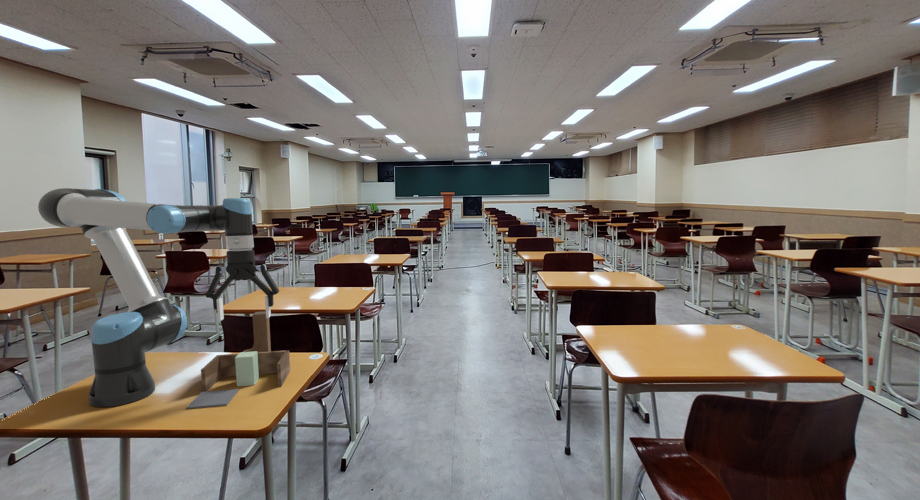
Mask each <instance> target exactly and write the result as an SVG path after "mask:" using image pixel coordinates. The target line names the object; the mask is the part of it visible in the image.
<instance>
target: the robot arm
mask: <svg viewBox="0 0 920 500" xmlns="http://www.w3.org/2000/svg"><path fill="white" fill-rule="evenodd" d="M39 199H40V200H39V202H38V206H37V207H38V209H37V210H38V212H39V215H40V216H41V218H42V219H43V220H44V221H45V222H47V223H49V224H51V226H52V225H53V226H55V227H59V228H80V229H81V231H82V233H83V235H84V237H85V238H88V239H89V240H90V239H92V240H93V241H94V243H95V245H96V247H97V249H98V251H99V253H100V254H101V256H102V258H103V261H104V263H105V265H106V266H107V268H108V270H109V271H110V272H109V273H110V274H111V275H112V278H113V279H114V282H115V284H116V285H117V287H118V289H119V291H120V293H121V294H122V296H123V299H124V300H125V302H126V304H127V306H128V310H127V311H126V312H120V313H117V314H116V313H115V314H110V315H107V316H105V317H102V318H99V319H98V320H97V321H95V322H93V324H92V326H91V328H90V331H91V332H90V333H91V335H90V342H91V349H92V357H93V367H94V369H93V370H94V378H93V381H92V383H91V384H92V385H91V387H90V390H89V394H88V404H89V406H91V407H94V408H95V407H96V408H107V407H108V408H110V407H117V406H122V405H125V404H126V405H127V404H130V403H134V402H137V401H139V400H143V399H144V398H146V397H148V396H150V395H151V394H153V393H154V392H155V390H156V382H155V379H154V377H153V376H152V374H151V372H150V370H149V369H148V367H147V364H146V363H147V362H146V353H147V352H150V351H152V350H155V349H157V348H160V347H162V346H167V345H169V344H172V343H173V342H175V341H177V340H179V339H180V338H181V337H182V336H183V335H184V334H185V332H186V328H187V327H188V317H187V314H186V312H185V311H184V309H182V308H181V307H180V306H179V307H178V305H174V304H172V303H171V302H170V300H169V299H168V297H166V296H162V295H160V293H159V291H158V289H157V287H156V286H155V283H154V282H153V280H152V277H151V276H150V274H149V272H148V270H147V268H146V266H145V263H144V262H143V260H142V259H141V258H142V257H141V256H140V254H139V252H138V250H137V248H136V246H135V245H134V243H133V241H132V239H131V238H130V235H129V233H128V231H127V229H134V230H142V231H143V230H145V231H153V232H155V233H157V234H166V235H167V234H169V235H170V234H175V233H179V234H180V233H190V232H205V231H206V232H207V231H224V235H225V237H224V238H225V249H227V251H226V264H227V265H226V266H222V265H218V266H216V268H215V271H214V272H215V274H214V277H213V278H212V280H211V283H210V284H209V287H208V289H207V291H206V293H205V298H207V299H208V298H209V299H212V302H213V303H212V304H213V310H215V311H216V312H217V321H218V322H221V321H223V320H224V319H225V315H224V304H223V303H224V301H223V299H224V298H223V297H221V296H222V294H223V293H224V292H225V291H226V289H227V288H228V287H229V286H230V285H231V284H232V282H233V281H248V280H250V281H251V282H253V283H254V284H255V285H256V286H257V288H259V289H260V290H261V291H262V292H263V293H264V294H265V297H264V304H265V305H264V307H265V311H266V318H269V319H270V317H271V316H272V312H271V308H272V307H274V303H275V301H274V295H277V294H279V292H280V289H279V288H278V286H277V284H276V283H275V281H274V279H273V278H272V276H271V274H270V272H269V271H268V267H267V264H266V263H264V264H261V265H257V264H256V261H255V260H256V257H255V250H254V248H255V243H254V231H253V211H252V205H251V204H252V203H251V201H250V199H248V198H247V197H246V198H245V197H236V198H235V197H231V198H230V197H229V198H224V199H223V200H222V204H221V205H198V204H197V205H179V204H178V205H177V204H176V205H174V204H162V203H150V202H137V201H128V200H127V199H126V198H125V197H124V196H123V195H122V194H120V193H118V192H117V191H113V190H110V189H109V190H107V189H103V188H96V189H95V188H94V189H89V188H69V187H68V188H67V187H65V188H56V189H53V190H50V191H48V192H47V193H45V194H44V195H43V196H41V198H39ZM256 271H258V272H259V273H261V275H262V277H263V278H264V280H265V282H266V283H267V285H266V284H265V282H263V281H262V279H260V278H259V276H258V275H257V274H256ZM225 272H227V274H228V277H227V278H226V279H225V281H224V282H223V283H222V285H221V286H220V287H219V288H218V289H217V287H218V285H219V283H220V280H221V279H222V276H223V274H225ZM268 286H269V287H268ZM216 289H217V291H216Z"/></svg>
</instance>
